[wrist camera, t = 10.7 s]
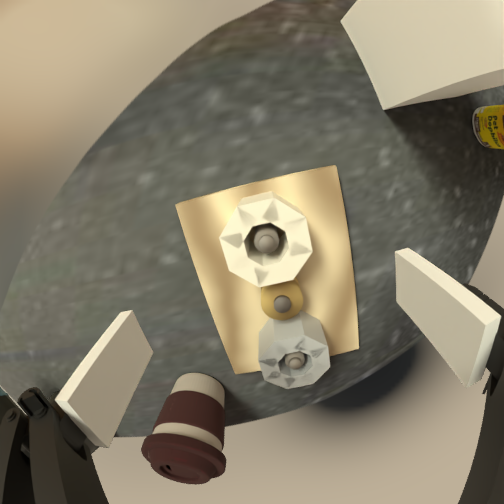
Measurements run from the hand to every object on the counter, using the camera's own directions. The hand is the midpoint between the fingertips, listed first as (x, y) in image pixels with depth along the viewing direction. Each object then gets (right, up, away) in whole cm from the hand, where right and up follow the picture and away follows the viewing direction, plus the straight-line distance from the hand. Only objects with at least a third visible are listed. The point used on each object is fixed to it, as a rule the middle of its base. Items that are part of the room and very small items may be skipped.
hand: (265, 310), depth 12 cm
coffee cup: (-8, -17, +24) cm, 30 cm away
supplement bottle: (+30, +19, +10) cm, 37 cm away
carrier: (+2, -1, +18) cm, 18 cm away
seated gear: (+4, -7, +18) cm, 20 cm away
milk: (+17, +25, +9) cm, 31 cm away
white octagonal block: (+1, +5, +14) cm, 15 cm away
